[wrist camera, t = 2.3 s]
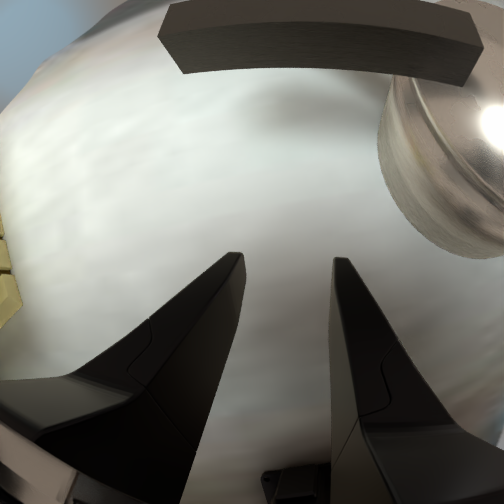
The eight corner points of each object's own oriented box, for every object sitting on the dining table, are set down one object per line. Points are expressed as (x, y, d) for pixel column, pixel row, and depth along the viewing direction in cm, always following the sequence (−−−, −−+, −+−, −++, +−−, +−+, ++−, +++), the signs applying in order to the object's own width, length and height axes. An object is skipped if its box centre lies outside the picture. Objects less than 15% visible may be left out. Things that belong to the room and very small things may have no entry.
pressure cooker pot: (578, 178, 18) (631, 146, 9) (528, 326, 18) (599, 335, 9) (321, 6, 25) (313, -62, 16) (224, 112, 26) (184, 44, 17)
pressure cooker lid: (563, 48, 11) (585, 17, 7) (614, 246, 9) (658, 234, 5) (218, -8, 17) (198, -53, 12) (169, 197, 15) (118, 165, 11)
